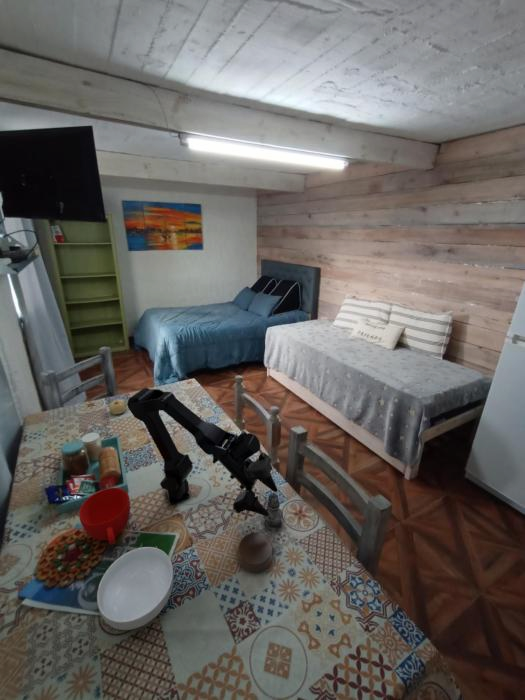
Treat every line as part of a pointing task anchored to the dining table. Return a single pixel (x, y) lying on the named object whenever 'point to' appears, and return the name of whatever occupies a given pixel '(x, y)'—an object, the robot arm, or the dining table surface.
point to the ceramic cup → (105, 514)
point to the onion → (117, 406)
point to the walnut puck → (255, 552)
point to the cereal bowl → (135, 588)
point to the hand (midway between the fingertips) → (272, 502)
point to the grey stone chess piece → (273, 513)
